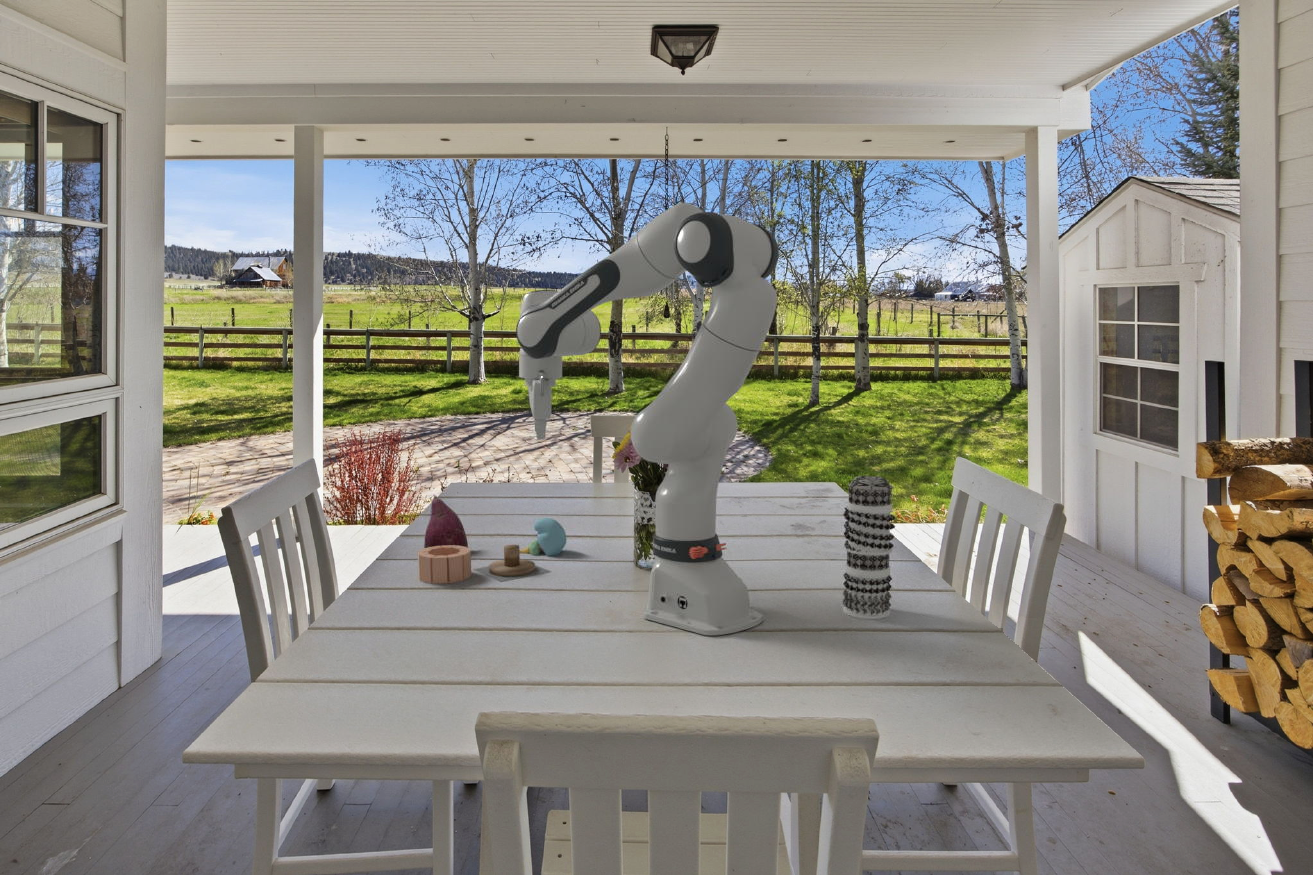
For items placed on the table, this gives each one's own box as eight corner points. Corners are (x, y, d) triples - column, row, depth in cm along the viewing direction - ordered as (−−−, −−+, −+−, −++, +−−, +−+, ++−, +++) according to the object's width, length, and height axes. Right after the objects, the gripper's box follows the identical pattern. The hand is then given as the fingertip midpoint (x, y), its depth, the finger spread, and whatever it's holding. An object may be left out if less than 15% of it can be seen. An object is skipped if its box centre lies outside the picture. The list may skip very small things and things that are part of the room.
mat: (551, 575, 188) (551, 571, 188) (501, 585, 180) (501, 581, 180) (522, 563, 197) (522, 560, 197) (473, 572, 190) (473, 569, 190)
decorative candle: (831, 613, 163) (835, 478, 160) (854, 601, 170) (858, 472, 167) (878, 623, 158) (883, 484, 154) (900, 610, 165) (904, 477, 162)
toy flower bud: (514, 517, 207) (566, 514, 206) (518, 554, 208) (569, 551, 207) (508, 524, 200) (561, 520, 199) (512, 562, 201) (564, 559, 200)
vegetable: (418, 569, 205) (397, 507, 203) (447, 553, 213) (428, 494, 212) (451, 564, 199) (430, 500, 198) (480, 548, 208) (460, 487, 206)
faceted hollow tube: (480, 580, 184) (479, 552, 183) (431, 590, 177) (430, 560, 176) (457, 569, 192) (456, 542, 191) (409, 578, 185) (408, 550, 184)
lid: (543, 571, 188) (543, 547, 187) (503, 579, 182) (502, 554, 181) (520, 562, 195) (519, 538, 195) (481, 569, 189) (480, 545, 189)
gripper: (558, 373, 174) (557, 443, 176) (553, 366, 194) (552, 429, 196) (526, 372, 173) (525, 443, 175) (524, 366, 193) (523, 429, 195)
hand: (540, 435), depth 186 cm, fingers open, 8 cm apart
